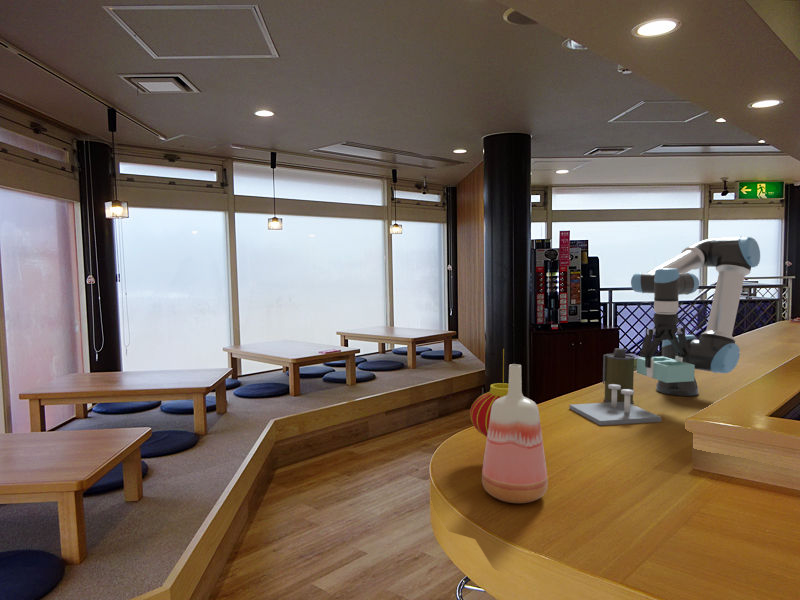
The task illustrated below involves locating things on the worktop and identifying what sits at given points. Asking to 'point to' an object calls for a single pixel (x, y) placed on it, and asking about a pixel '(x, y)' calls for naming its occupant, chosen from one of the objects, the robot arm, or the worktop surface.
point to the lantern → (487, 405)
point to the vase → (514, 447)
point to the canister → (618, 373)
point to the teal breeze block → (668, 369)
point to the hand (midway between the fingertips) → (664, 376)
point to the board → (615, 410)
